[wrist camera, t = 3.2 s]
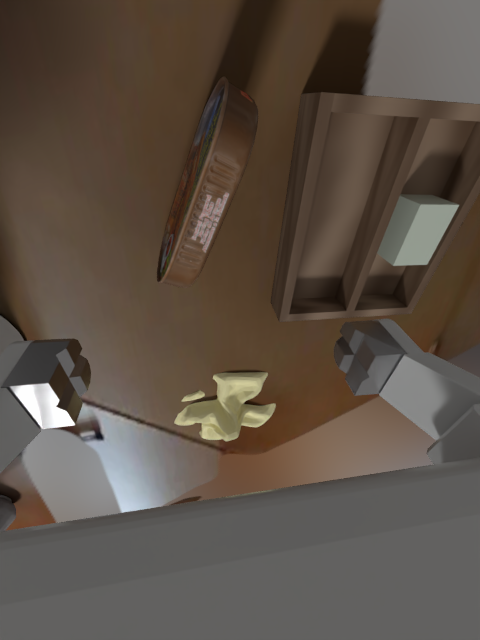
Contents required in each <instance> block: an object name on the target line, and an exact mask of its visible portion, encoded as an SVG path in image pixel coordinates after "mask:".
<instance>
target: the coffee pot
mask: <svg viewBox="0 0 480 640" xmlns="http://www.w3.org/2000/svg"><path fill="white" fill-rule="evenodd" d="M15 518H16V508H15V506H14V505H13V503H11V499H10V498H8V497H7V496H3V495H0V532H2V531H5V530H6V529H7V528H8V527H9V525H10V524H11V523H12V522H13V521H14V519H15Z"/></svg>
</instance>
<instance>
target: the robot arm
mask: <svg viewBox="0 0 480 640" xmlns="http://www.w3.org/2000/svg"><path fill="white" fill-rule="evenodd" d="M340 333H341V334H342V337H341V338H340V339H338V340H337V341H336V343H335V347H334V358H335V361H336V364H337V365H338V367H339V369H341V370H342V371H344V372H345V373H346V377H345V380H346V381H347V383H348V385H349V386H350V388H351V390H352V392H353V393H354V395H368V394H379V395H380V396H381V397H382V398H384V399H385V400H386V401H387V402H389V403H390V404H391V405H392V406H394V407H395V408H396V409H398V410H399V411H400V412H401V413H402V414H404V415H405V416H406V417H408V418H409V419H410V420H411V421H412V422H414V423H415V424H416V425H417V426H419V427H420V428H421V429H423V430H424V431H425V432H426V433H427V434H429V435H430V436H431V437H433V438H434V439H435V440H436V442H435V443H433V444H432V445H431V446H430V447H429V448H428V450H427V455H428V457H429V458H430V460H431V461H432V462H433V464H434V465H428V466H422V467H415V468H408V469H402V470H396V471H390V472H383V473H376V474H370V475H363V476H357V477H350V478H344V479H338V480H331V481H325V482H318V483H312V484H305V485H300V486H292V487H286V488H279V489H273V490H266V491H260V492H253V493H247V494H240V495H234V496H228V497H221V498H215V499H209V500H202V501H195V502H189V503H182V504H176V505H169V506H163V507H156V508H150V509H144V510H137V511H131V512H124V513H118V514H111V515H105V516H99V517H92V518H86V519H79V520H73V521H66V522H61V523H53V524H47V525H40V526H34V527H27V528H21V529H15V530H8V531H2V532H0V640H480V378H479V377H477V376H475V375H473V374H471V373H469V372H467V371H465V370H463V369H461V368H459V367H456V366H455V365H453V364H451V363H449V362H447V361H445V360H443V359H441V358H439V357H436V356H434V355H432V354H430V353H424V352H423V351H422V350H421V349H420V348H419V347H418V346H417V345H416V344H415V343H414V342H413V341H412V340H411V339H410V338H409V337H408V335H407V334H406V333H405V332H404V331H403V330H402V329H401V328H400V327H399V326H398V325H397V324H396V323H395V322H394V321H393V320H390V319H380V320H370V321H355V322H345V323H344V324H343V325H342V328H341V330H340ZM81 350H82V347H81V345H80V343H79V341H78V340H76V339H51V340H35V341H24V339H23V338H22V336H21V335H20V333H19V332H18V331H17V330H16V329H15V328H14V326H12V325H11V324H10V323H9V322H8V321H7V320H6V319H4V318H3V317H2V316H0V473H1V472H2V471H3V470H4V469H5V468H6V467H7V466H8V465H9V464H10V463H11V462H12V461H13V460H14V459H15V458H16V456H17V455H18V454H19V453H20V452H21V451H22V450H23V449H24V448H25V447H26V446H27V445H28V444H29V443H30V442H31V441H32V440H33V439H34V438H35V437H36V436H37V435H38V434H39V433H40V432H41V430H40V429H48V428H56V427H63V426H71V425H75V424H76V421H77V418H78V415H79V413H80V410H81V407H82V404H83V403H82V401H81V400H80V398H79V397H80V396H82V395H83V394H84V393H85V392H86V391H87V390H88V387H89V384H90V378H91V370H90V365H89V363H88V360H87V359H86V358H84V357H83V356H81V355H80V352H81Z"/></svg>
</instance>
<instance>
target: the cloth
mask: <svg viewBox="0 0 480 640" xmlns="http://www.w3.org/2000/svg"><path fill="white" fill-rule="evenodd" d="M267 375H268V373H266V372H254V373H252V372H241V373H219V374H215V375H214V376H213V379H214V380H215V381H216V382H217V384H218V389H217V397H218V398H217V399H216V400H212V401H203V402H198V403H193V404H190V405H188V406H187V407H186V408H185V409H184V410H183V411H182V412H180V413H179V414H178V416H177V418H176V420H175V422H174V423H175V424H178V425H192V424H194V423H195V422H197V423H202V430H201V431H200V432H199V434H200V435H201V437H202V438H203V439H209V440H220V439H223V440H225V441H229V440H233V439H236V438H237V437H238V436H239V432H240V428H241V425H245V426H250V427H259V426H261V425H263V424H264V423H265V422H266V421H267V420H268V419H269V418H270V417H271V415H272V414H273V412H274V410H275V407H276V405H275V404H269V405H264V406H256V405H249V404H243V403H244V402H245V401H247V400H249V399H251V398H254V397H255V396H256V395H257V394H258V393H259V392H260V391H261V389H262V385H263V382H264V381H265V379H266V377H267ZM203 396H205V394H204V393H203V392H202V391H200V390H199V391H197V392H194V393H192V394H189V395H187V396H185V397H184V398H183V400H182V402H183V401H191V400H195V399H198V398H202V397H203Z"/></svg>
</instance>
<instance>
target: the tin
mask: <svg viewBox="0 0 480 640" xmlns="http://www.w3.org/2000/svg"><path fill="white" fill-rule="evenodd" d="M257 124H258V109H257V106H256V104H255V102H254V100H253V99H252V98H251V97H250V96H249V95H247V94H246V93H244V92H243V91H241V90H240V89H238V88H237V87H235V86H234V85H232V84H231V83H230V82H228V80H227V78H226V77H222V78H220V80H219V81H218V83H217V84H216V86H215V88H214V90H213V92H212V94H211V96H210V98H209V100H208V102H207V104H206V106H205V109H204V112H203V114H202V117H201V120H200V122H199V125H198V129H197V131H196V134H195V137H194V140H193V143H192V146H191V150H190V153H189V156H188V159H187V162H186V165H185V168H184V172H183V175H182V178H181V181H180V184H179V187H178V190H177V194H176V197H175V200H174V203H173V206H172V209H171V212H170V216H169V219H168V222H167V226H166V230H165V233H164V237H163V241H162V245H161V250H160V255H159V261H158V269H157V281H158V283H166V284H170V285H173V286H177V287H182V288H188V287H190V286H191V285H192V284H193V283H194V282H195V281H196V279H197V278H198V276H199V274H200V273H201V271H202V269H203V267H204V264H205V262H206V260H207V258H208V255H209V253H210V251H211V249H212V246H213V244H214V242H215V239H216V237H217V235H218V233H219V230H220V228H221V226H222V223H223V221H224V219H225V216H226V214H227V212H228V209H229V207H230V205H231V202H232V200H233V197H234V195H235V193H236V190H237V188H238V186H239V183H240V181H241V178H242V176H243V174H244V171H245V168H246V166H247V163H248V160H249V157H250V154H251V151H252V147H253V144H254V140H255V135H256V131H257Z"/></svg>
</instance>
